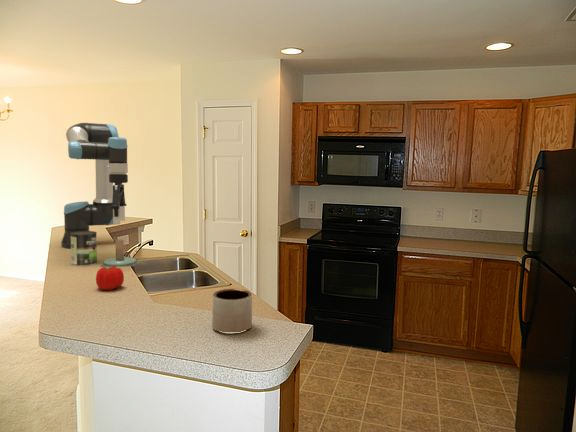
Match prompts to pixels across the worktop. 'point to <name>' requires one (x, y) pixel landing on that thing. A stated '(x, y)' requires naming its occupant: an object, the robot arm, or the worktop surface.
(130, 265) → the mat
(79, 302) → the worktop surface
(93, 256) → the coffee can
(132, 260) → the cover
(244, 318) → the planter
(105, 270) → the tomato
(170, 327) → the worktop surface
